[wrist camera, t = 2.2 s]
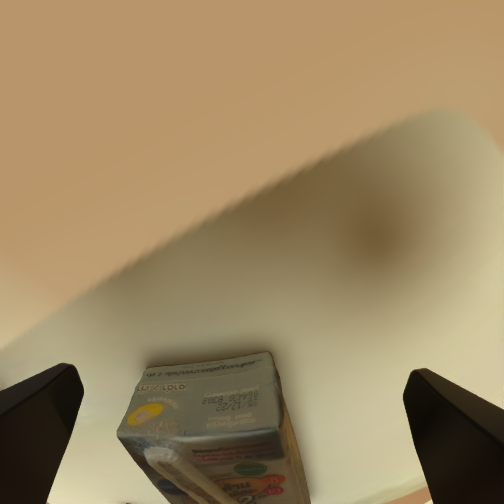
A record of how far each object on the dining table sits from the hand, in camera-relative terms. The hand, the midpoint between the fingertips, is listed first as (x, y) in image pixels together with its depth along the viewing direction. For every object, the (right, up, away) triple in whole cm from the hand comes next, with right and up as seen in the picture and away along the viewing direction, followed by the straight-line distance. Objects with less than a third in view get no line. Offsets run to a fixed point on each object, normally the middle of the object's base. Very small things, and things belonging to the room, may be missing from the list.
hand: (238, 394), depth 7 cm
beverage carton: (0, -11, +12) cm, 16 cm away
